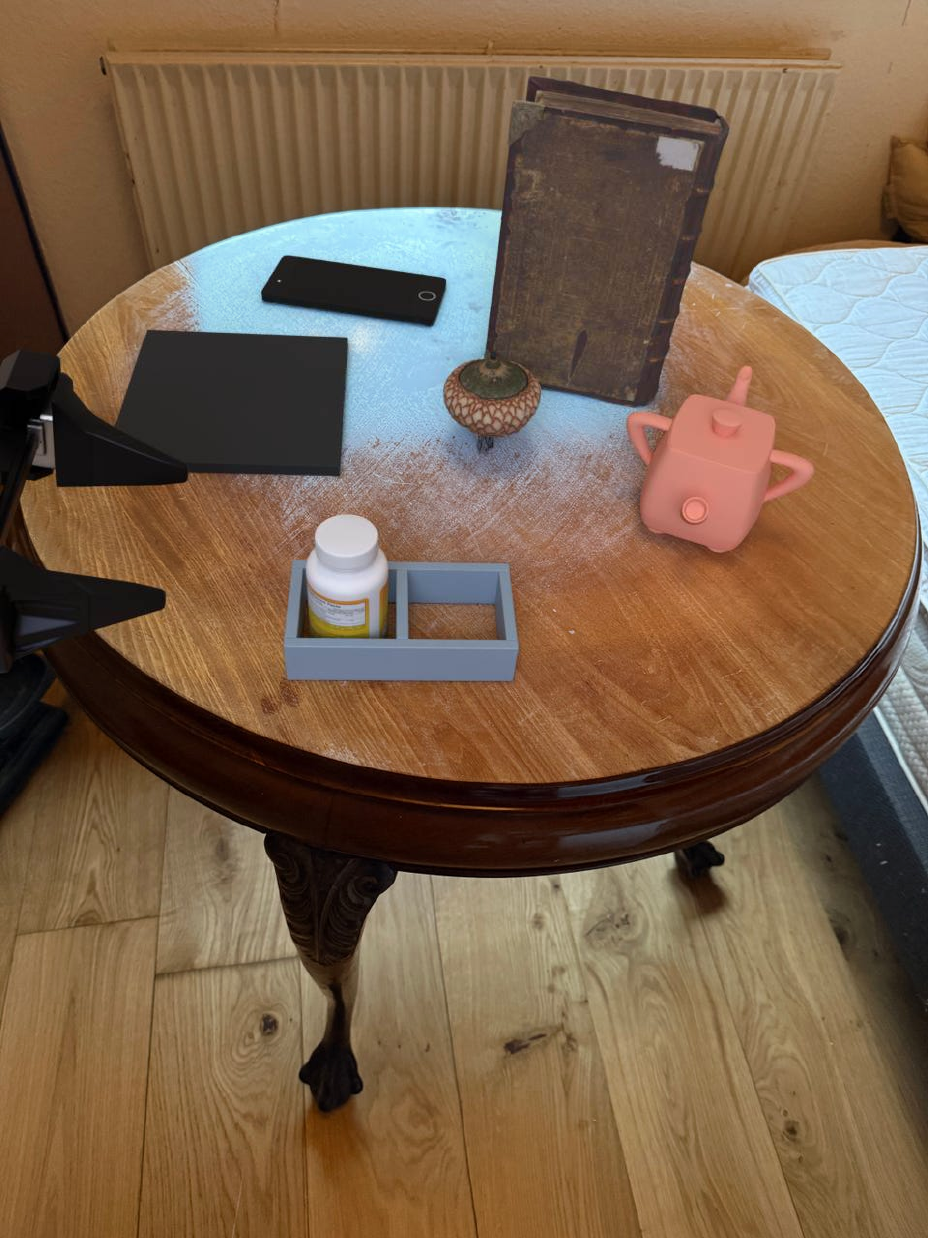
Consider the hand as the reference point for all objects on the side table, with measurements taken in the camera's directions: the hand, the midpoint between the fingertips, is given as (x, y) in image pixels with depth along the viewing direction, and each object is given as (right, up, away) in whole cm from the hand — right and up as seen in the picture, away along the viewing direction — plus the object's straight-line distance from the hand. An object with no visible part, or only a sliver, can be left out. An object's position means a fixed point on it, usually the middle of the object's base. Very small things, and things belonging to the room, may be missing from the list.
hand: (177, 532), depth 48 cm
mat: (-6, +15, +35) cm, 39 cm away
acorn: (+17, +10, +33) cm, 39 cm away
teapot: (+34, +4, +30) cm, 45 cm away
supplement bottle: (+7, -6, +18) cm, 20 cm away
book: (+25, +18, +42) cm, 52 cm away
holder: (+10, -6, +18) cm, 22 cm away
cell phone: (+3, +30, +50) cm, 58 cm away
